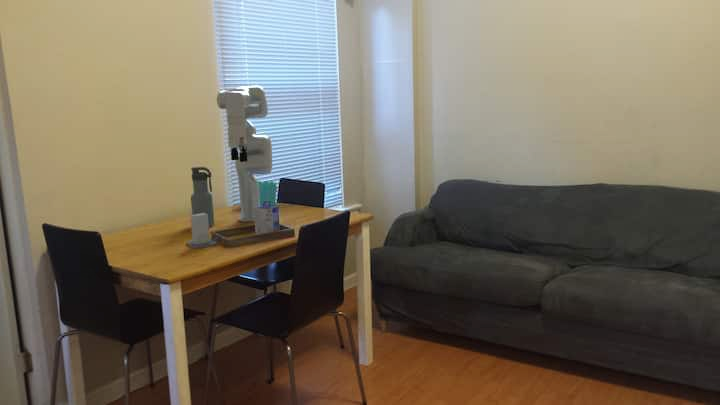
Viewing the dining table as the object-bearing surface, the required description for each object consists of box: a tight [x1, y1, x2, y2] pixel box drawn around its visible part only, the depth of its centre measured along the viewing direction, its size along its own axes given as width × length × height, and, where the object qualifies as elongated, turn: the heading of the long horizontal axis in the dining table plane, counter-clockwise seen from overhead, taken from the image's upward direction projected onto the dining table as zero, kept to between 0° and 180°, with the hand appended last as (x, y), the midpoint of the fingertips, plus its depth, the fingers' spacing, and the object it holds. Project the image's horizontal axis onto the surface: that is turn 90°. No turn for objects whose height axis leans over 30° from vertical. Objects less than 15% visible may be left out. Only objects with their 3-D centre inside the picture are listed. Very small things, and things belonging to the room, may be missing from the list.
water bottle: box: [190, 166, 215, 228], centre depth 279 cm, size 10×10×28 cm
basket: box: [257, 180, 278, 207], centre depth 323 cm, size 19×18×13 cm
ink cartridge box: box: [254, 201, 281, 235], centre depth 258 cm, size 10×6×14 cm, turn 65°
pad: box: [185, 238, 218, 250], centre depth 246 cm, size 10×10×1 cm
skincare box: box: [189, 213, 211, 245], centre depth 245 cm, size 6×4×12 cm
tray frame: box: [210, 222, 296, 248], centre depth 256 cm, size 20×30×3 cm, turn 123°
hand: (239, 160), depth 257 cm, fingers open, 9 cm apart
